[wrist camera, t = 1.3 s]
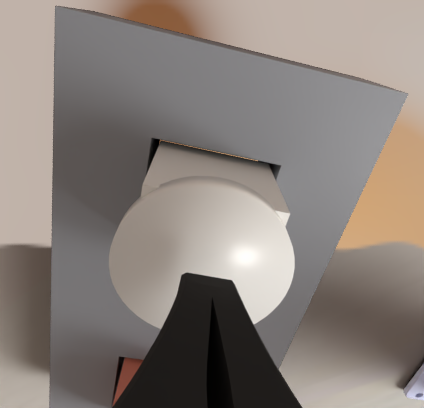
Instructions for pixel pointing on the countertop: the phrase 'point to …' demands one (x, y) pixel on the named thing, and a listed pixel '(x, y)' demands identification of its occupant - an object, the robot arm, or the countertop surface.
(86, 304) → the plug panel
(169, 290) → the plug
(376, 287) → the countertop surface
